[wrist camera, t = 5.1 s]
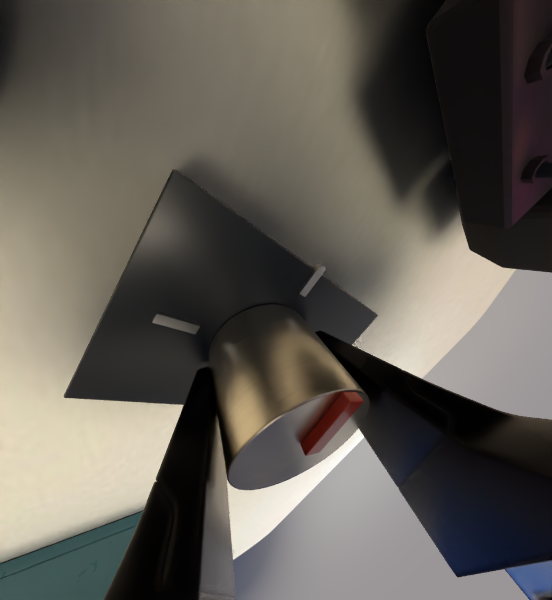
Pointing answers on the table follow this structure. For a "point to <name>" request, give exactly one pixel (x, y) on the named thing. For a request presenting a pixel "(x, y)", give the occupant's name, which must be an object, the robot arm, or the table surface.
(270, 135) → the table surface
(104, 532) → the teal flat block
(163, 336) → the thermostat
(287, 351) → the dial
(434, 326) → the table surface
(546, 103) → the toy car
